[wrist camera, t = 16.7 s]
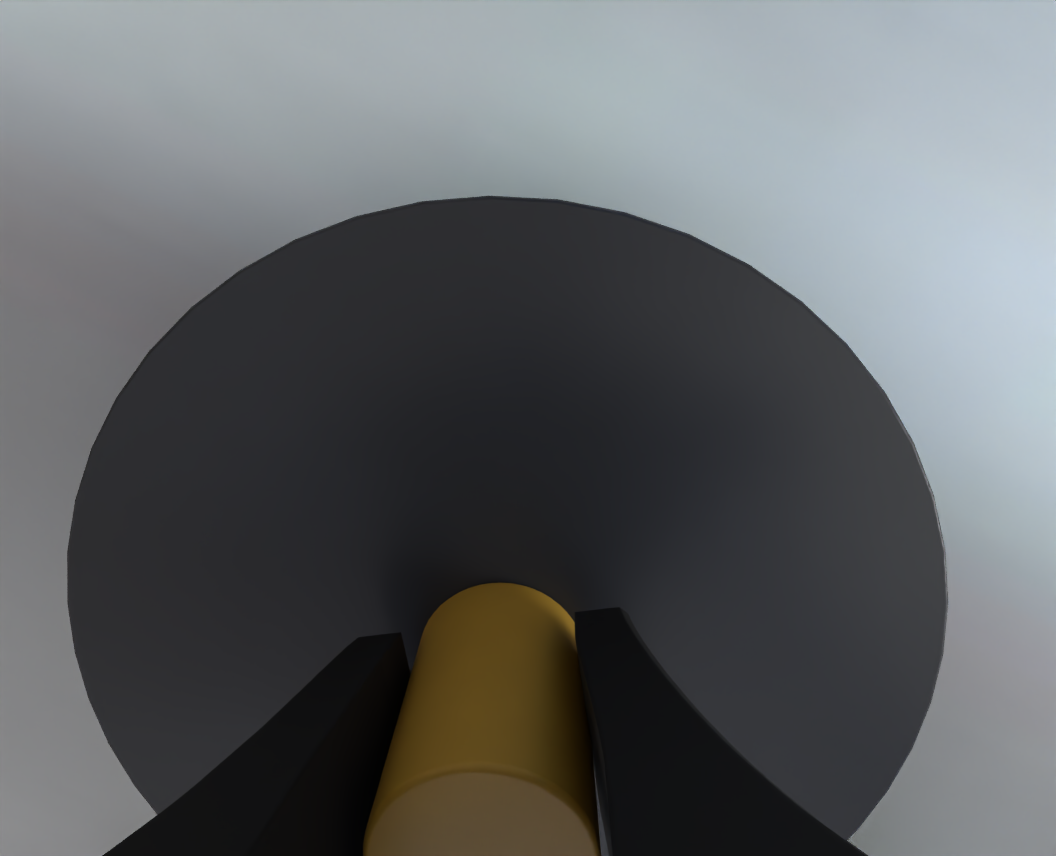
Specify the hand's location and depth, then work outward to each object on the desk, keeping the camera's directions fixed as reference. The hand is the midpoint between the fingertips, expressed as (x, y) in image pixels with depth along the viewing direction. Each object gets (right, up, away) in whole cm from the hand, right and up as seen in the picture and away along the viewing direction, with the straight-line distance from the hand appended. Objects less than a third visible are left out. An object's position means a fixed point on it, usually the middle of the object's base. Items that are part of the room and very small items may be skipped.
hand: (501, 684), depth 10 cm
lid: (0, 0, +1) cm, 1 cm away
